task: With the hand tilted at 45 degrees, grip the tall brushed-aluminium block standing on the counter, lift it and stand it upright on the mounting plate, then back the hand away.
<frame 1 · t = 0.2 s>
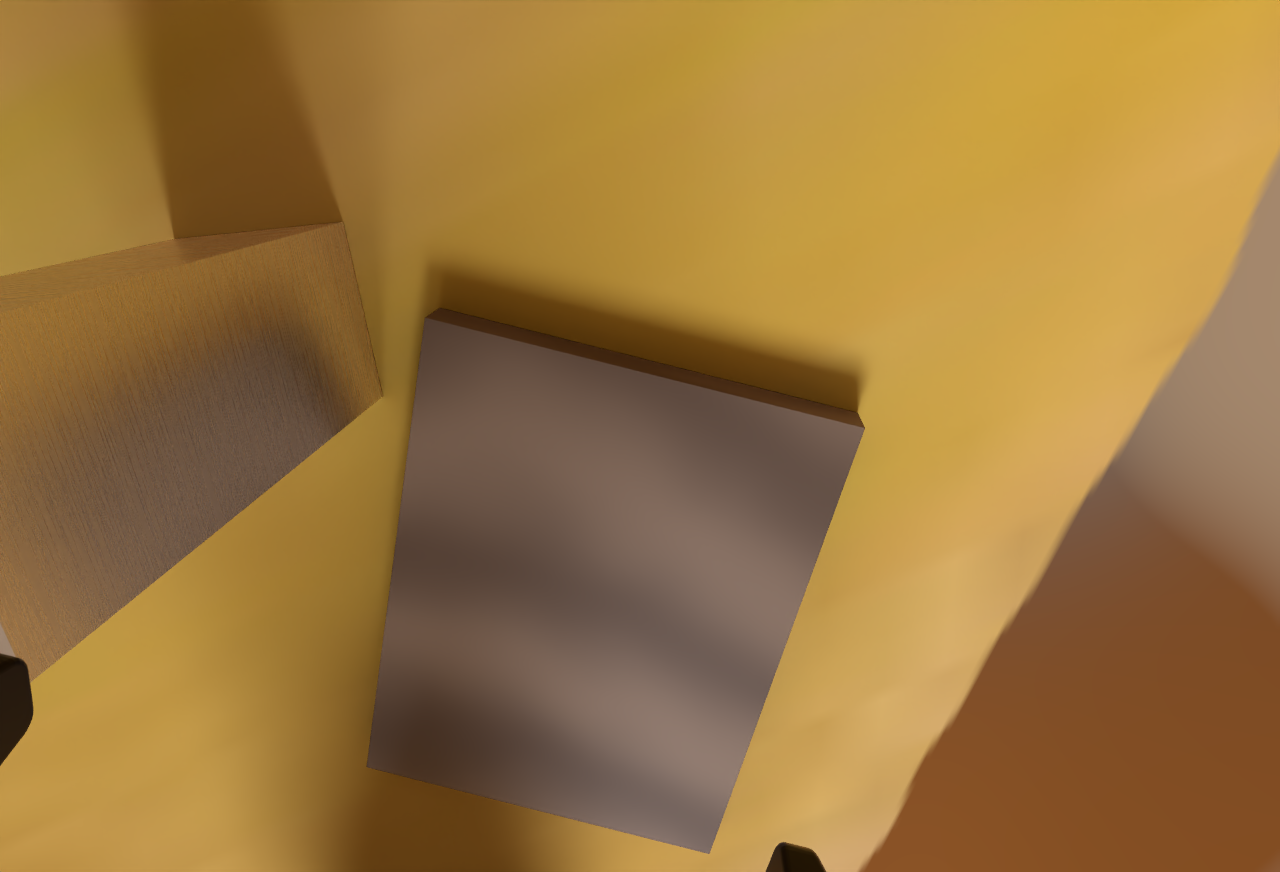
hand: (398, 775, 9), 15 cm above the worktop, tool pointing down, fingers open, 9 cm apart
mounting plate: (590, 596, 25), on the worktop
aluminium block: (281, 319, 23), on the worktop
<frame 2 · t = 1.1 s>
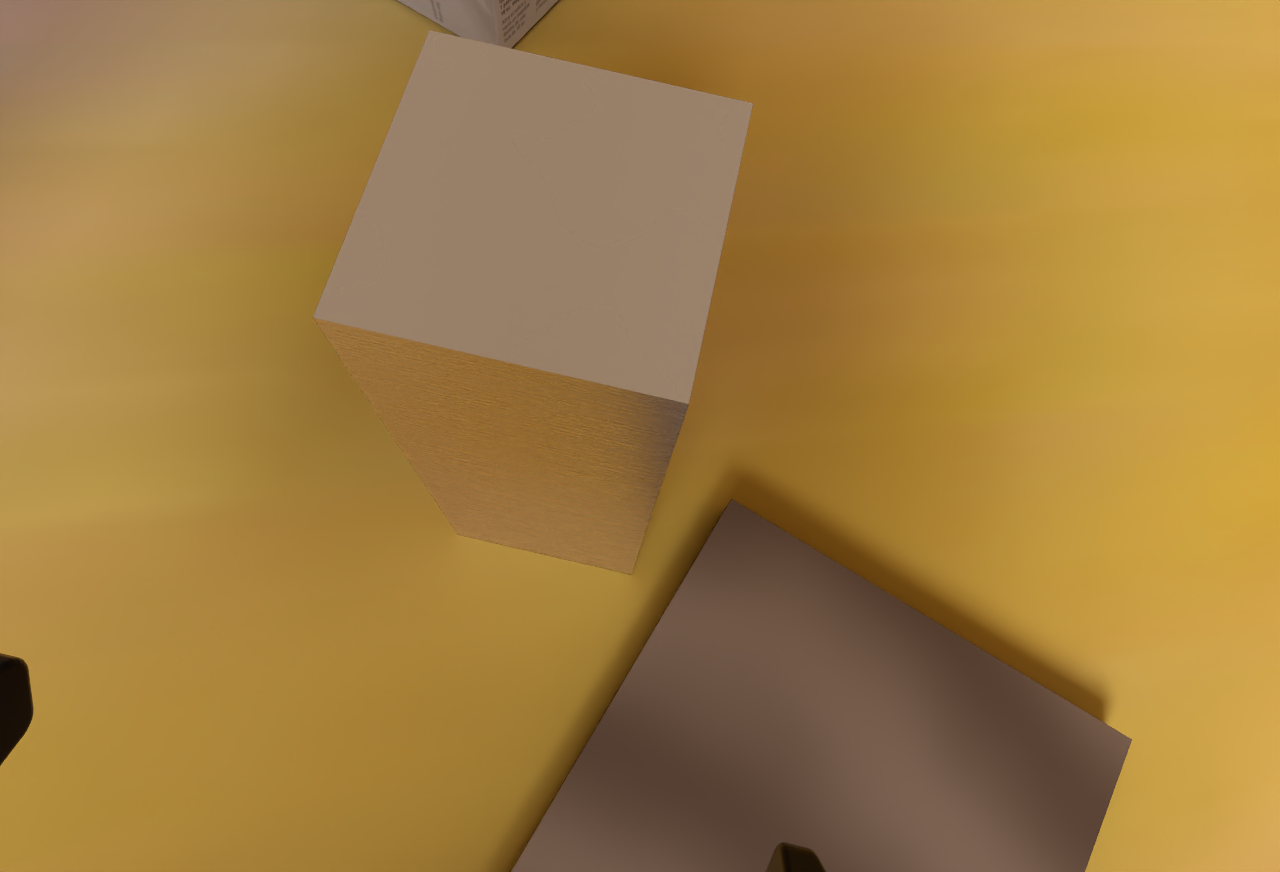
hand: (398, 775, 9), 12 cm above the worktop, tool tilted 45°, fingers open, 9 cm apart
aluminium block: (566, 471, 23), on the worktop
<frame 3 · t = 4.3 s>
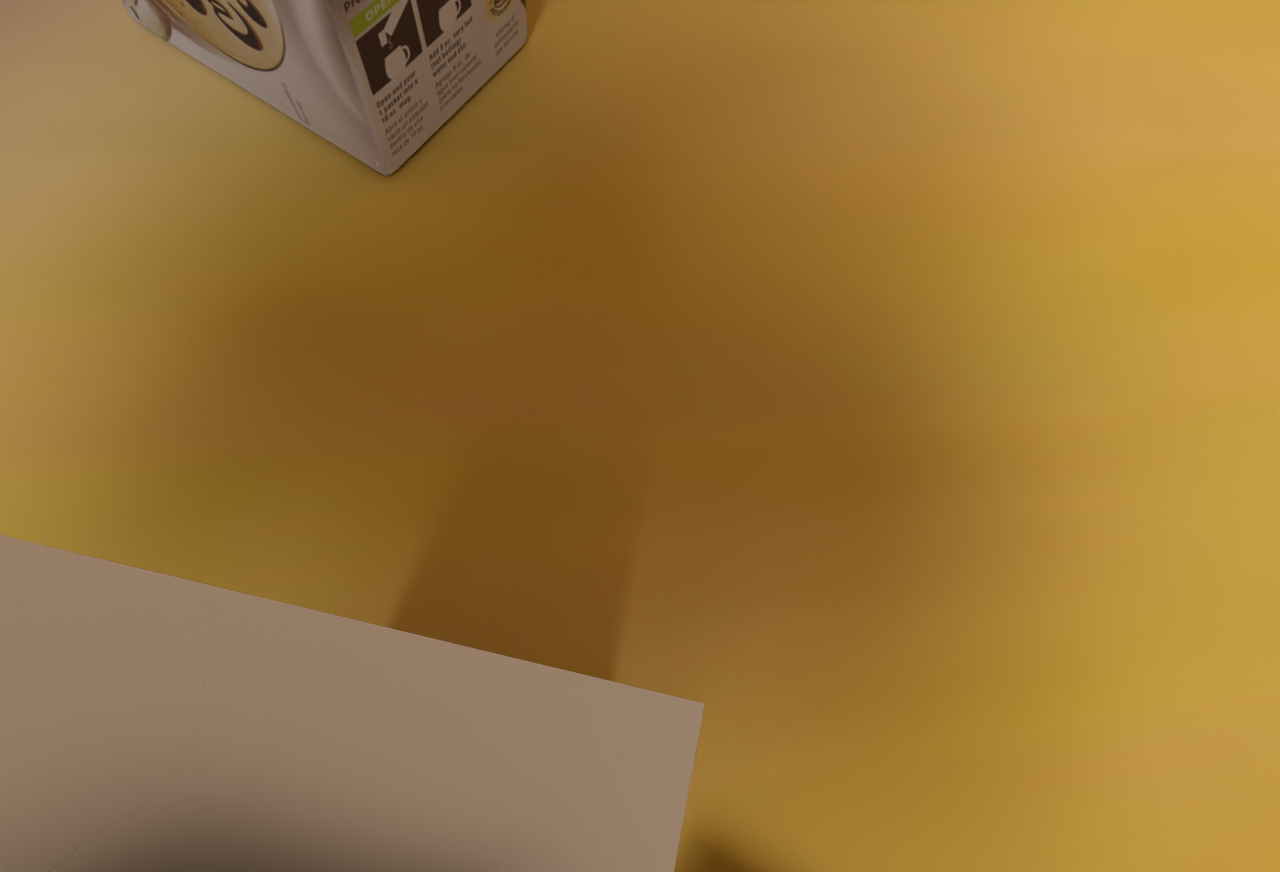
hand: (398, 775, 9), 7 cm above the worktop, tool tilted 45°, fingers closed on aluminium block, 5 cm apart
coffee box: (335, 33, 22), on the worktop
aluminium block: (448, 838, 15), on the worktop, touching gripper
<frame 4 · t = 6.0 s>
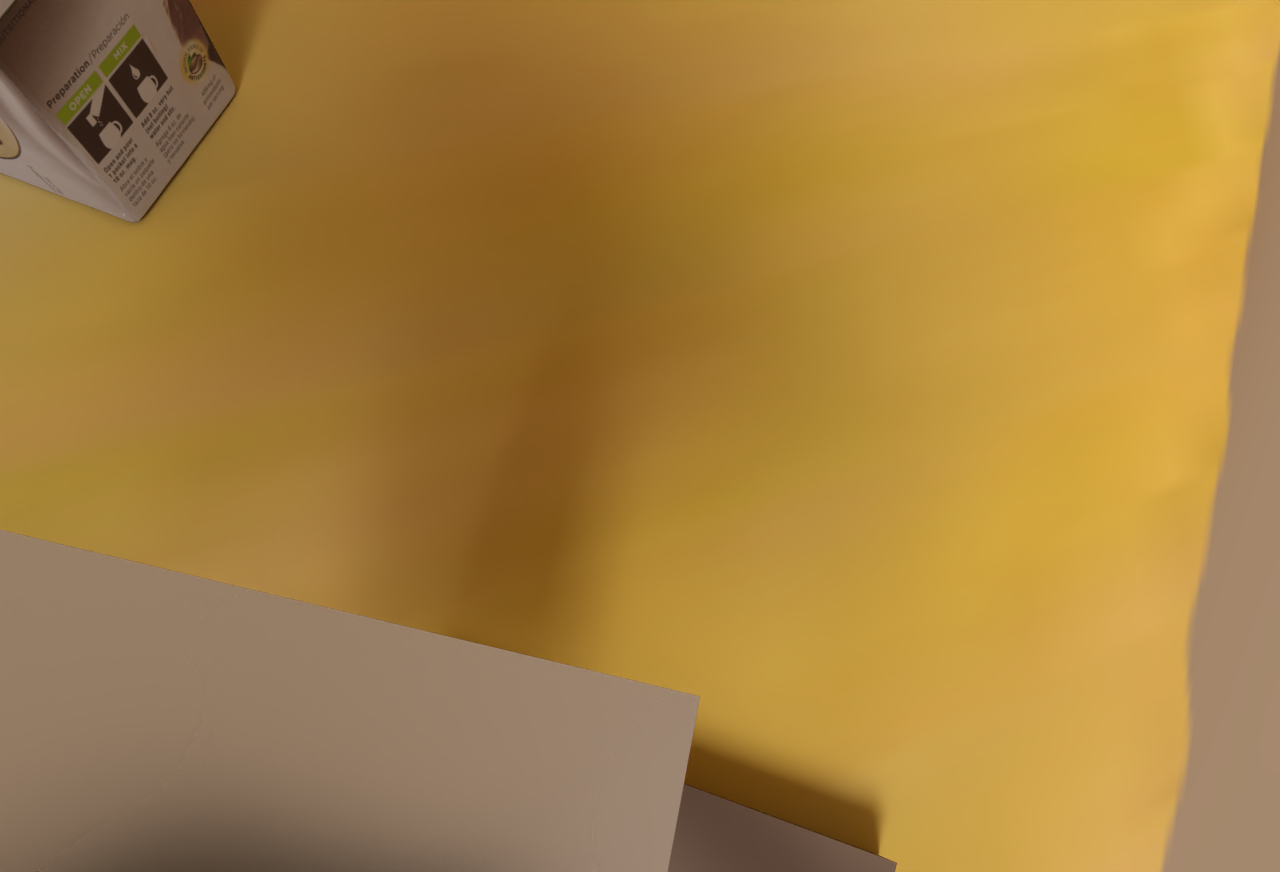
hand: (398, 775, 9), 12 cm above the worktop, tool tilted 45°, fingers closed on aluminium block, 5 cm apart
coffee box: (74, 113, 27), on the worktop
aluminium block: (447, 835, 15), point 5 cm above the worktop, touching gripper
when the fingers open (9 cm above the worktop, at t = 8.0 s): aluminium block drops 1 cm, resting on mounting plate.
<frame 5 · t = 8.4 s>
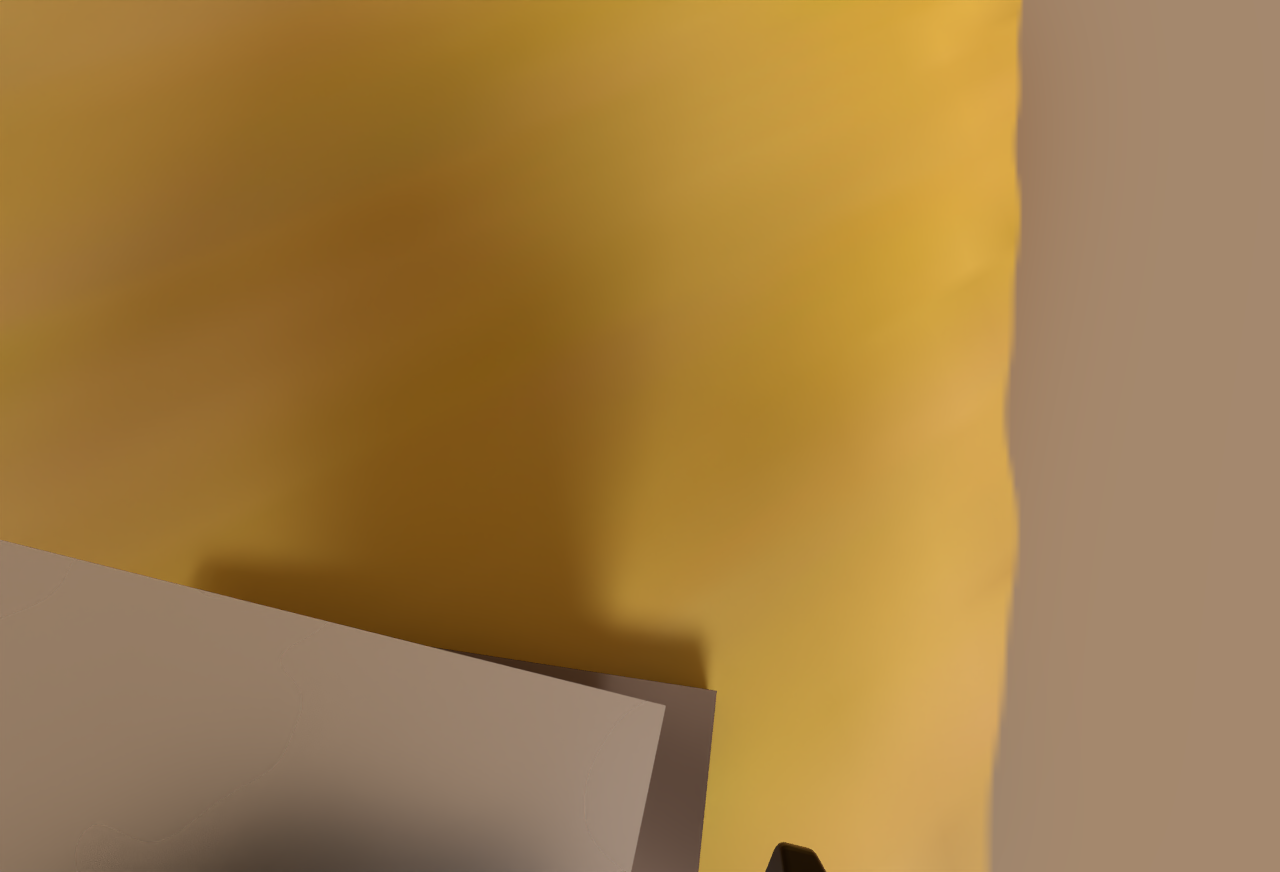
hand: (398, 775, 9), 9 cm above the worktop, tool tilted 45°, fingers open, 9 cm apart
aluminium block: (457, 826, 17), point 1 cm above the worktop, touching mounting plate
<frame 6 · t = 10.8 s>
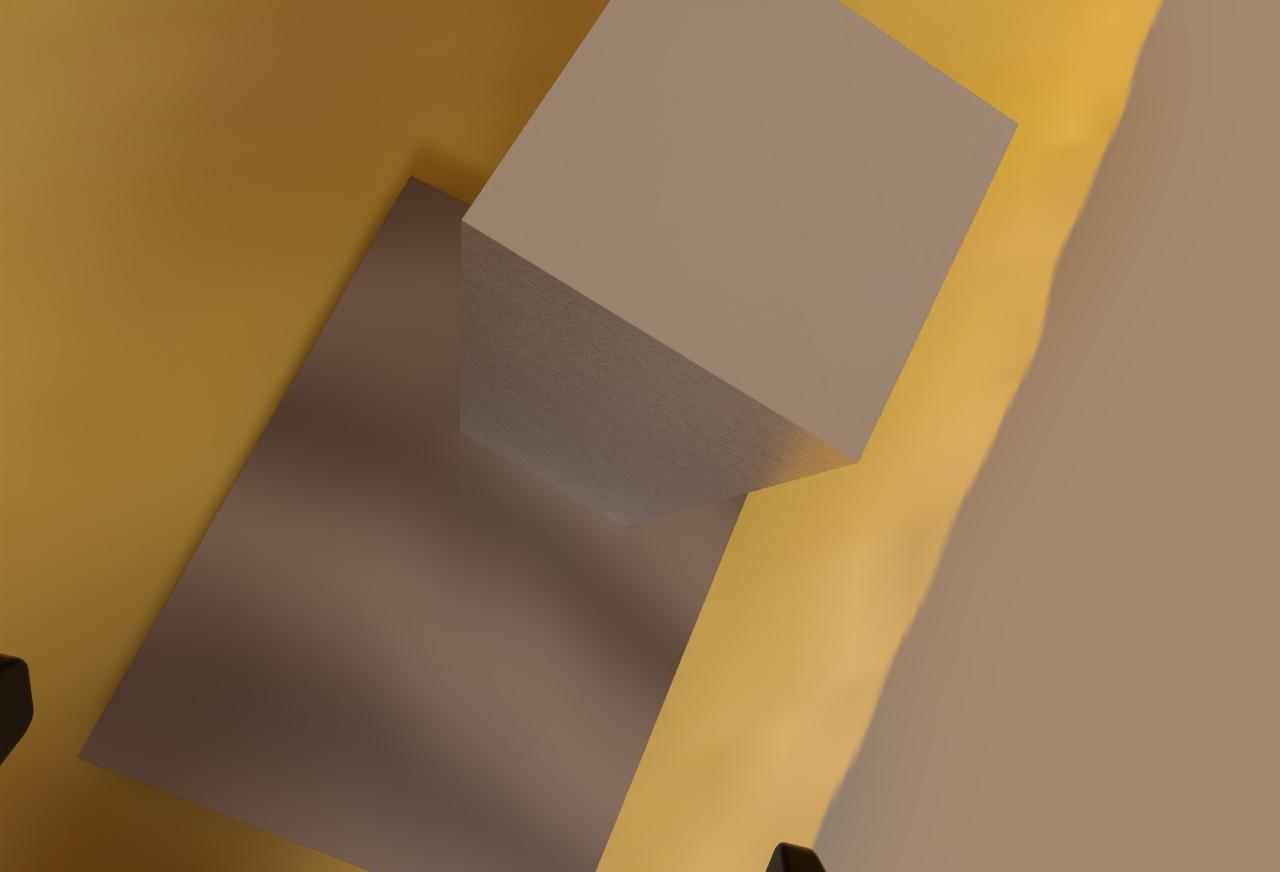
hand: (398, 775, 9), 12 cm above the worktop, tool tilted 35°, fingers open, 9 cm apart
mounting plate: (482, 541, 22), on the worktop
aluminium block: (589, 399, 22), point 1 cm above the worktop, touching mounting plate
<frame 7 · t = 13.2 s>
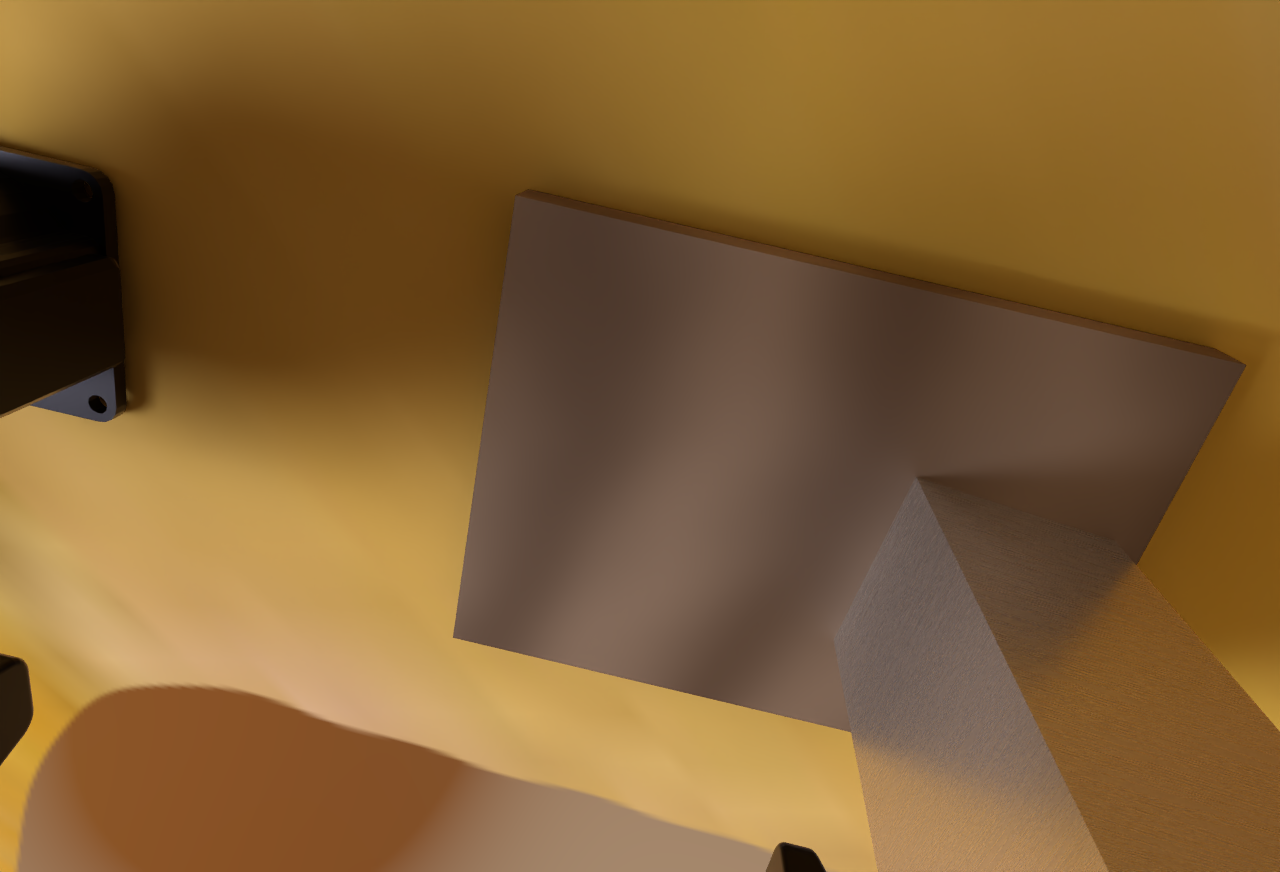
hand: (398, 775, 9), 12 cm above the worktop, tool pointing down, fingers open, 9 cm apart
mounting plate: (795, 496, 21), on the worktop
aluminium block: (967, 592, 20), point 1 cm above the worktop, touching mounting plate
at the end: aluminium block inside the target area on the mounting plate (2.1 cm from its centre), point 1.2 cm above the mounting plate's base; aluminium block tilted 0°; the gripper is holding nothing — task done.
